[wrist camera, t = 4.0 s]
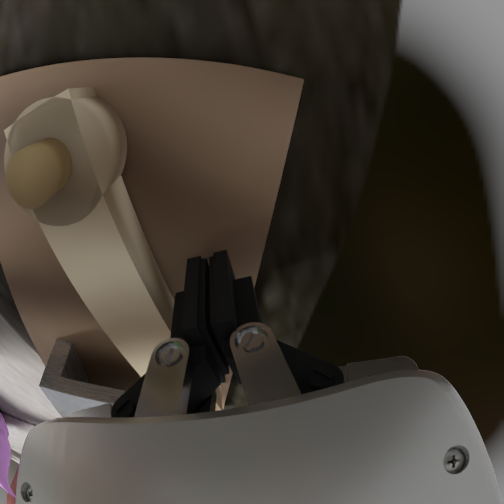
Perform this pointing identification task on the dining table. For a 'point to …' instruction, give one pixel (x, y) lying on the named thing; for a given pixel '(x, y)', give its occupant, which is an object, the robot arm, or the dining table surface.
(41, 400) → the dining table surface
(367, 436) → the robot arm
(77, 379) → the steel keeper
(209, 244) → the walnut board
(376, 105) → the dining table surface
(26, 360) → the dining table surface
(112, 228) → the oak link
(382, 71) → the dining table surface
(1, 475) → the teapot
